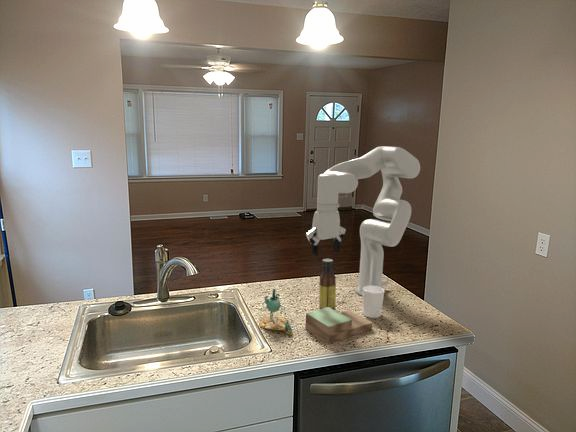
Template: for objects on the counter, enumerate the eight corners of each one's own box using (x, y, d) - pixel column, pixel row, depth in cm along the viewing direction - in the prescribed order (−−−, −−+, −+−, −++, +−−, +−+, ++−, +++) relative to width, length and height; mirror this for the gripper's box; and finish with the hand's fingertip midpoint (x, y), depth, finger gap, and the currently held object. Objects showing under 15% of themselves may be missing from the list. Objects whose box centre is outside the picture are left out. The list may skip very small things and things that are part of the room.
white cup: (365, 319, 156) (367, 293, 155) (358, 310, 164) (359, 285, 162) (385, 318, 158) (387, 292, 156) (377, 309, 166) (379, 284, 164)
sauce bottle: (335, 307, 167) (337, 258, 163) (335, 313, 161) (338, 262, 157) (318, 305, 167) (320, 257, 163) (317, 312, 161) (320, 261, 157)
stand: (348, 316, 158) (349, 301, 157) (372, 329, 149) (373, 313, 148) (305, 329, 147) (306, 313, 146) (327, 343, 138) (328, 326, 136)
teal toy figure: (274, 341, 139) (272, 296, 137) (251, 324, 154) (249, 284, 153) (299, 334, 143) (298, 291, 142) (274, 319, 159) (273, 280, 157)
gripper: (339, 204, 163) (337, 247, 167) (301, 208, 154) (300, 253, 158) (352, 207, 157) (350, 252, 160) (313, 211, 148) (312, 259, 152)
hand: (325, 253), depth 159 cm, fingers open, 9 cm apart
